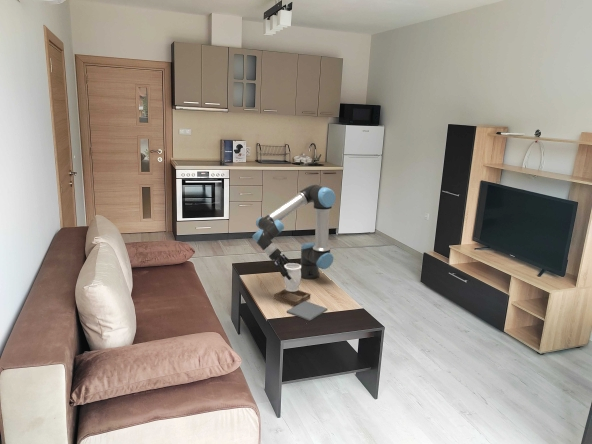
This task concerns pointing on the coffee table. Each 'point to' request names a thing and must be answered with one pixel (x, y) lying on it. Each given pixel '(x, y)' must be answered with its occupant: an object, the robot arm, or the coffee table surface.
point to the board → (307, 310)
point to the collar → (280, 297)
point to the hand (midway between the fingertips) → (297, 279)
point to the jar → (295, 273)
